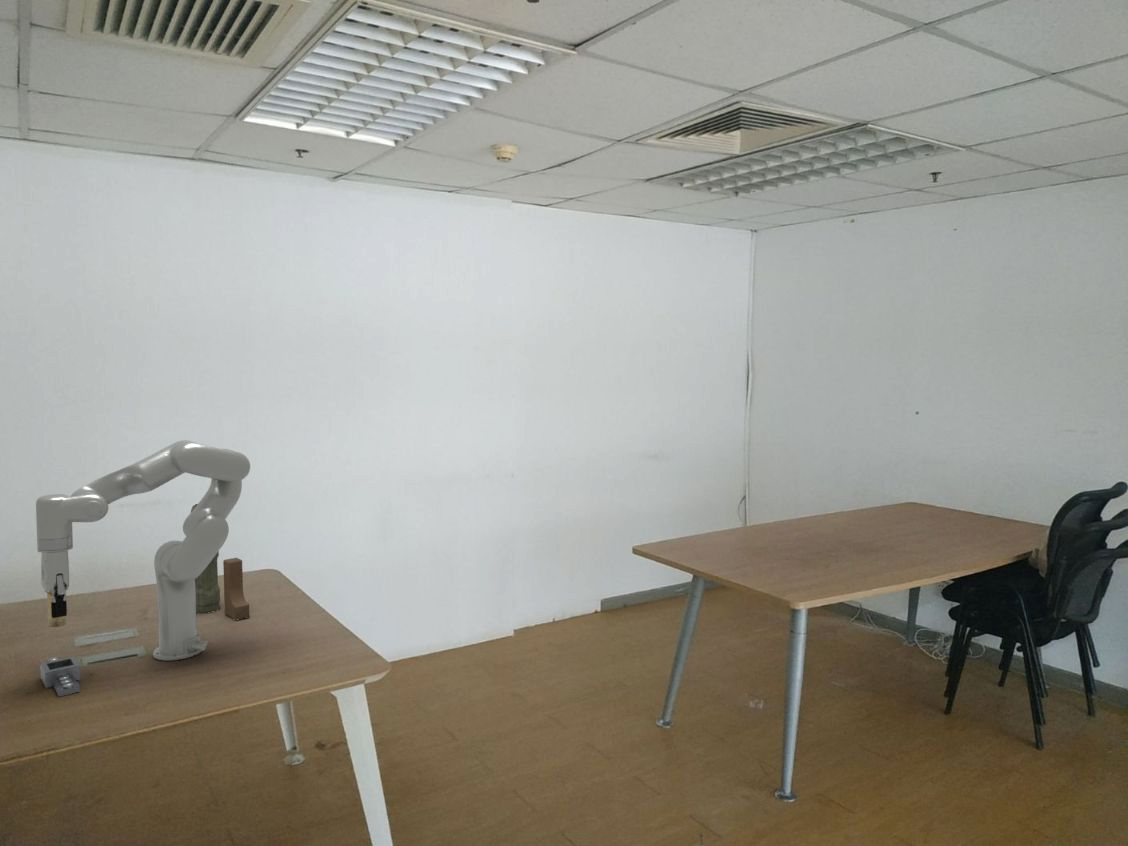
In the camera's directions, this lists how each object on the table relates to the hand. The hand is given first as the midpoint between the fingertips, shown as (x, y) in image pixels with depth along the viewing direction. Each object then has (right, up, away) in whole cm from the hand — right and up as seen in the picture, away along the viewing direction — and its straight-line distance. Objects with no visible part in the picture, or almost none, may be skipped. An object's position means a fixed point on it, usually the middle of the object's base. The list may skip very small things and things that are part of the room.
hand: (57, 613), depth 197 cm
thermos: (+11, -13, +57) cm, 60 cm away
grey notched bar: (0, -17, +1) cm, 17 cm away
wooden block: (+24, -14, +51) cm, 58 cm away
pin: (0, -3, 0) cm, 3 cm away
